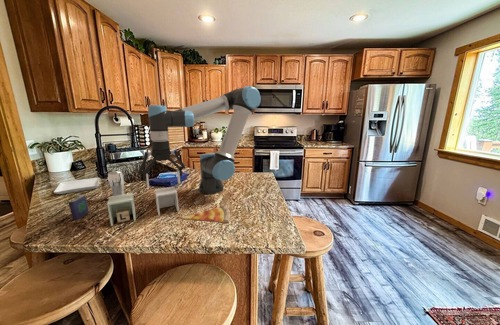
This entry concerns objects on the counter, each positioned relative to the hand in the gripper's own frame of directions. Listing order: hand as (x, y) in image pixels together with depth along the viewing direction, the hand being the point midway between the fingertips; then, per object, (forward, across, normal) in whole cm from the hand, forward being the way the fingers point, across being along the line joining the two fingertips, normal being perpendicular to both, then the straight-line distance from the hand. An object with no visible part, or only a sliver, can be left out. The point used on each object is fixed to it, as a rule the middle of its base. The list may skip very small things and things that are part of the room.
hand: (164, 185), depth 96 cm
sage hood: (+13, -18, 0) cm, 22 cm away
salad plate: (+14, -45, +63) cm, 79 cm away
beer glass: (+13, -21, +30) cm, 39 cm away
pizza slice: (+13, +18, -14) cm, 26 cm away
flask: (+14, -35, +14) cm, 40 cm away
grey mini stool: (+13, +1, 0) cm, 13 cm away
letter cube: (+13, -18, 0) cm, 22 cm away
